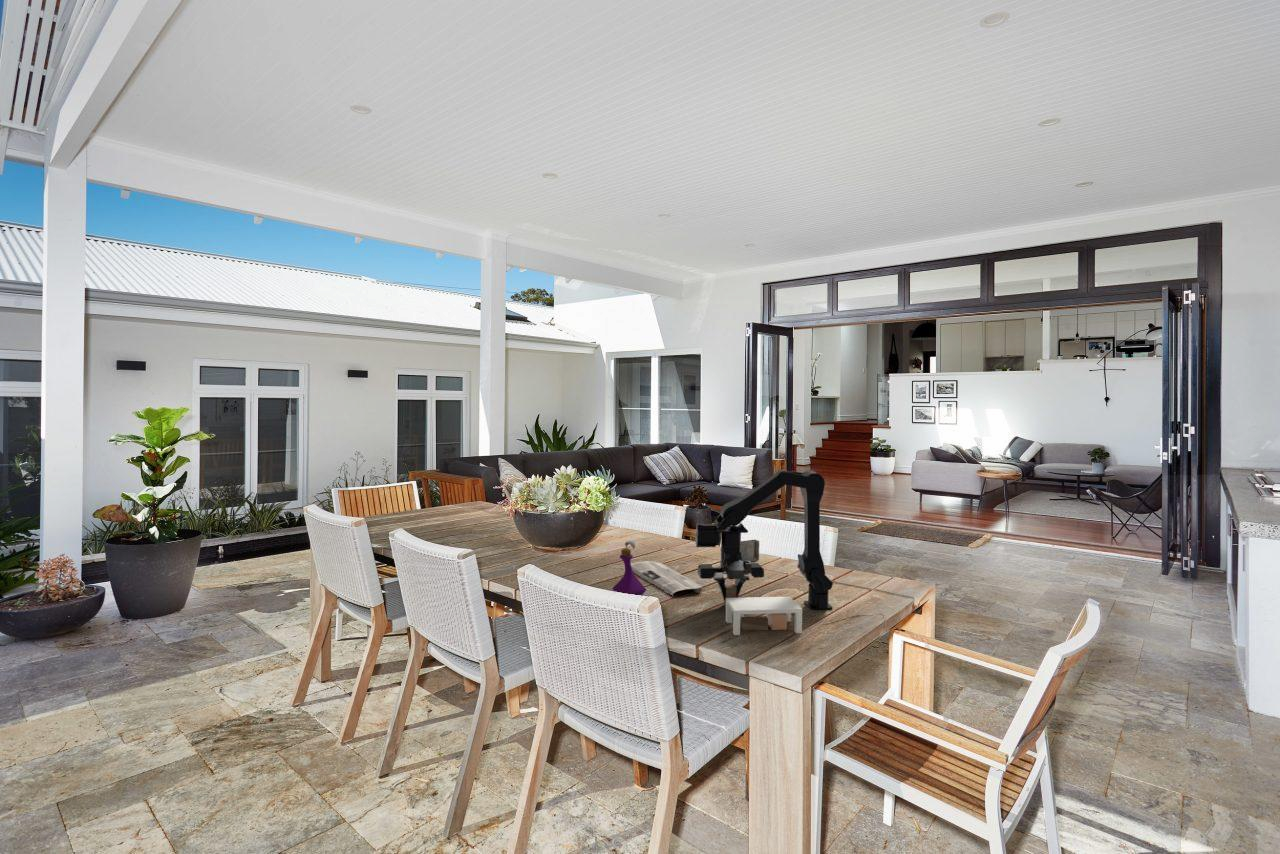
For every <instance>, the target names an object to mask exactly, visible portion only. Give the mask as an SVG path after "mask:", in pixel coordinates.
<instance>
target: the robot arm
mask: <svg viewBox="0 0 1280 854" xmlns="http://www.w3.org/2000/svg"><path fill="white" fill-rule="evenodd" d="M825 482H826V481H825V478H824V477H823V476H822V475H821V474H819V473H817V472H816V471H813V470H805V471H803V472H801V471H791V470H785V469H779V470H777V471H776V472H775V473H774V474H773V475H771V476H770V477H769V478H767V479H766V480H765V481H763V482H762V483H760V484H759V485H757V486H756V487H754V488H753V489H752V490H751V491H749V492H747V493H746V494H745V495H743V496H741V497H737V498H735V499H732V500H731V501H728V502H727V503H725V504H723V506H721V507H720V510H719V511H720V514H719V515H718V516H717V517H716V519H715V520H714V521H713V524H712V523H696V529H695V534H694V539H695V548H716V547H717V546H718V545H719V544H720V567H713V565H712V563H704V564H702V563H700V564H698V566H697V568H696V570H697V575H698V577H699V578H700V579H706V580H710V579H713V580H714V581H715V582H717V584H718V586H719V589H720V593H721V597H722V599H723V601H724V600H725V599H726V593H725V585H726V579H725V577H724V575H726V578H727V579H728V580H734V585H735V586H736V598H739V595H740V593H741V589H742V587H743V585H745V583H746V582H747V581H750V580H751V578H750V577H749V575H751V576H752V577H753V578H754V579H755V578H756V579H757V578H759V579H761V578H764V577H765V569H764V567H762V565H761V564H760V563H758V562H755V563H754V562H753V563H752V561H742V558H741V541H742V534H743V533H744V534H747V533H748V532H749V530H748V529H747V527H745V525H744V524H743V523H742V522H743V521H744V520H745V519H746V518H747V517H748V515H749V514H750V513H751V512H752V511H753V509H754V508H755V507H757V506H758V505H759V504H761V503H762V502H763V501H766V499H768V498H769V497H771V495H773V494H774V493H776V492H778V491H779V490H781V489H782V488H784V486H792V487H798V488H800V489H799V490H800V492H801V496H802V499H803V503H804V504H803V508H804V509H803V516H804V517H803V519H804V521H803V522H804V524H803V526H804V527H803V529H804V533H803V534H804V536H803V537H804V540H803V541H804V548H803V552H802V554H799V553H798V554H797V560H798V562H797V566H796V567H797V568H798V570H799V572H800V573H801V575H802V576H803V577H804V578H805V580H806V582H808V591H807V592H808V593H807V594H808V595H807V596H808V597H807V600H804V601H803V603H804V604H805V605H806V606H807V607H808V608H809V609H810V610H833V606H832V605H831V604H830V603H829V592H830V591H829V590H831V589H832V588H833V585H834V582H833V581H832V580H830V578H829V577H828V576H827V575H826V570H825V569H826V568H825V564H824V561H823V560H824V559H823V557H822V554H821V550H820V548H821V541H820V540H821V538H820V537H821V532H820V531H821V530H820V529H821V528H820V527H821V526H820V523H821V522H820V521H821V520H820V519H821V518H820V512H821V511H820V510H821V509H820V508H821V507H820V505H821V501H822V497H823V495H824V491H825V485H826V483H825Z"/></svg>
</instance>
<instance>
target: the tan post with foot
mask: <svg viewBox="0 0 1280 854" xmlns="http://www.w3.org/2000/svg"><path fill="white" fill-rule="evenodd" d="M725 593H726V598H736V586H735V583H733V584H732V583H731V584H725ZM723 605H724V608H726V599H725V600H724V599H723ZM732 616H733V611H732ZM768 629H769V625H768V616H767V615H766V616H765V615H764V616H763V615H762V616H757V615H756V616H745V614H740V630H742V631H765V630H766V631H768Z"/></svg>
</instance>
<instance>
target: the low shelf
mask: <svg viewBox="0 0 1280 854" xmlns="http://www.w3.org/2000/svg"><path fill="white" fill-rule="evenodd" d="M732 611H733V615H732ZM770 613H786V614H787V623H788V622H792V614H794V625H793V626H794V627H793V630H794V631H793V632H795V634H803V608H802V607H801V605H799V603H797V602H796V601H795V600H794V599H793V598H792V597H791V596H757V597H756V596H755V597H749V596H748V597H738V598H726V607H725V623H726V622H727V623H726V624H732V634H733V635H734V636H741V627H740V614H744V615H762V614H763V615H764V614H767V615H768V614H770Z"/></svg>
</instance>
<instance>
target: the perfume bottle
mask: <svg viewBox="0 0 1280 854" xmlns="http://www.w3.org/2000/svg"><path fill="white" fill-rule="evenodd" d="M624 545H625V548H623V549H621V551H620V552H621V554H620V555H619V559H621V560H622V561H623V564H624V574H623V576H622V577H621V579H620V580H619V581H618V582H617V583H616V584H615V585H614V586H613V587H612V588H611V589H612V591H613V592H614V591H617V592H622V593H628V594H635V595H642V596H643V595H644V593H646V592H647V588H646V587H645V586H644V584H643V583H642V582H641V581H640V580H639V578H638V577H636V575H635V573H633V570H632V568H631V564H632V563H631V560H632V559H633V558H634V556H633V554H632V553H631V552H632V550H631V549H630V548H628V546H629V545H630V547H632V549H633V550H635V548H636V541H635V540H629V541H626V542H625V543H624Z"/></svg>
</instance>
